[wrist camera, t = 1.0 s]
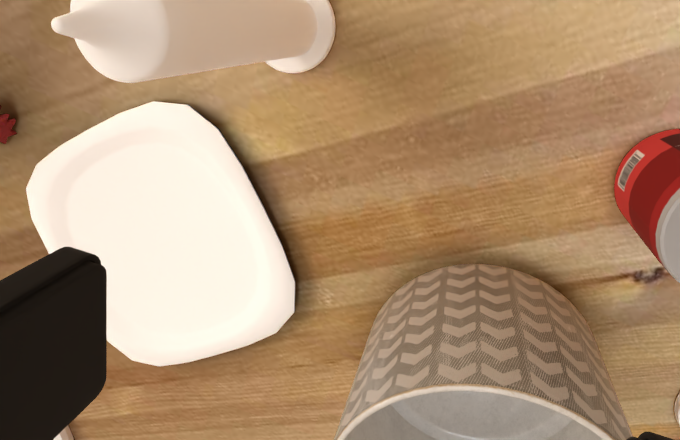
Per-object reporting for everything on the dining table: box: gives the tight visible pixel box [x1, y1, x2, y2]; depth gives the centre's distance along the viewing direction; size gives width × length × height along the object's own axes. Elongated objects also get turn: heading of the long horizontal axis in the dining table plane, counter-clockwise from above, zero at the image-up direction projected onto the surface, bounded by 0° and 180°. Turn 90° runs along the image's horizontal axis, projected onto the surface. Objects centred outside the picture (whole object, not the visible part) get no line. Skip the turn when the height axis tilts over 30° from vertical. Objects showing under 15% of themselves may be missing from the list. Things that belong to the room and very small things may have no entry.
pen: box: [54, 425, 74, 440], centre depth 64 cm, size 2×14×2 cm, turn 9°
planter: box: [334, 264, 633, 440], centre depth 37 cm, size 19×19×18 cm
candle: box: [51, 0, 336, 83], centre depth 28 cm, size 7×7×25 cm
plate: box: [26, 101, 295, 366], centre depth 49 cm, size 25×25×2 cm
